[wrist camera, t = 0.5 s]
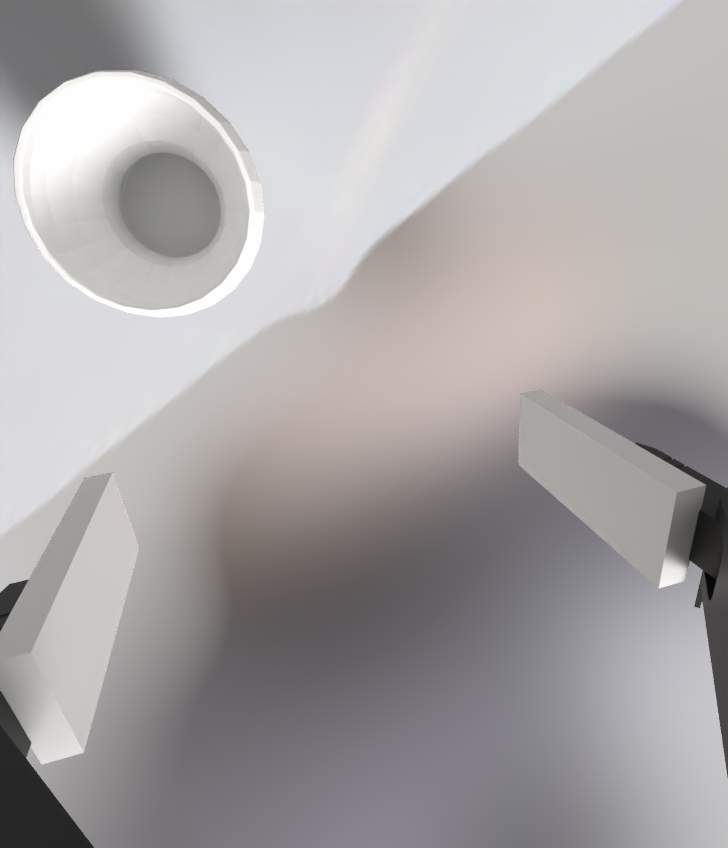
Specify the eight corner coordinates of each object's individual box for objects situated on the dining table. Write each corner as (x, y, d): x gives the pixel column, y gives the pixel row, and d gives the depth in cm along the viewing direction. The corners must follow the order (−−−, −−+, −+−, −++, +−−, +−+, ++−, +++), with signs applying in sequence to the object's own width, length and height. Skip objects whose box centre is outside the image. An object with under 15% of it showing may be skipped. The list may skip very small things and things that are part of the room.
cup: (168, 80, 32) (121, -19, 18) (285, 216, 36) (316, 216, 23) (56, 198, 33) (-68, 187, 19) (184, 316, 37) (156, 372, 24)
